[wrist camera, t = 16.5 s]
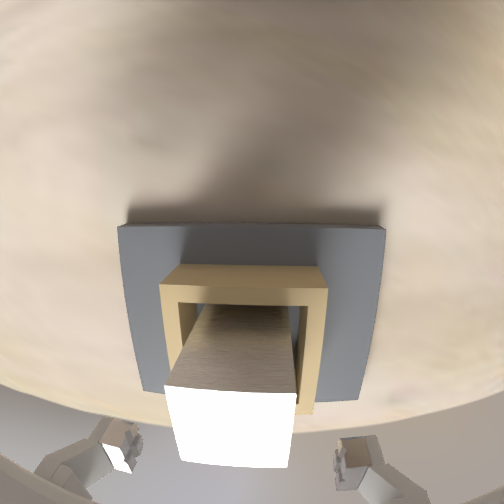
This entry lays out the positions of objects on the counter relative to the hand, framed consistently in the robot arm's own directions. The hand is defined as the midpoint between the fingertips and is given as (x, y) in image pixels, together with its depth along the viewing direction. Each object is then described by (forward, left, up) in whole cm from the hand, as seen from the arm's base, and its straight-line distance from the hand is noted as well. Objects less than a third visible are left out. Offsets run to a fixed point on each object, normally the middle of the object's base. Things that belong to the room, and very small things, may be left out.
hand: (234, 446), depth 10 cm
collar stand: (0, 0, -12) cm, 12 cm away
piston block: (0, 0, -11) cm, 11 cm away
